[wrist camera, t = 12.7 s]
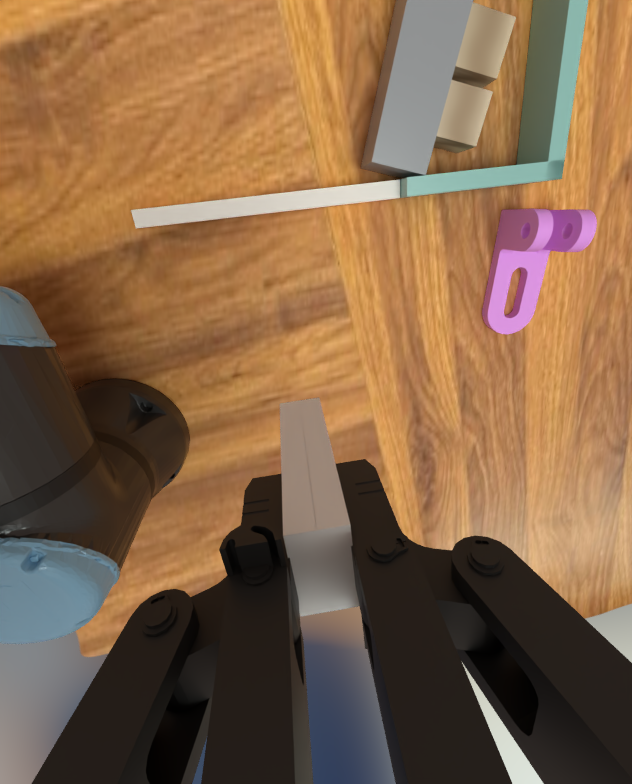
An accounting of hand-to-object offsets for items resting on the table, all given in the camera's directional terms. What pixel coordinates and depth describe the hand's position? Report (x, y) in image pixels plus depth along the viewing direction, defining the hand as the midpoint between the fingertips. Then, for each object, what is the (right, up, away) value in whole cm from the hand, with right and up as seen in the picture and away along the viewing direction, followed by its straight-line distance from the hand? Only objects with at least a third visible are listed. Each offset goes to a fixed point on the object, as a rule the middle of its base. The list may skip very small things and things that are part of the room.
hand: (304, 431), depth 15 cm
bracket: (+23, +15, +28) cm, 39 cm away
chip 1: (+14, +31, +19) cm, 39 cm away
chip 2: (+13, +27, +21) cm, 37 cm away
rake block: (+9, +29, +20) cm, 36 cm away
